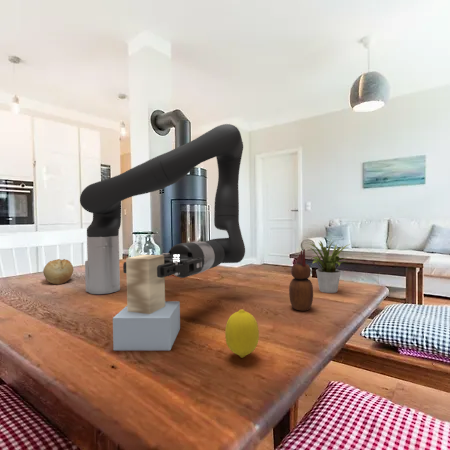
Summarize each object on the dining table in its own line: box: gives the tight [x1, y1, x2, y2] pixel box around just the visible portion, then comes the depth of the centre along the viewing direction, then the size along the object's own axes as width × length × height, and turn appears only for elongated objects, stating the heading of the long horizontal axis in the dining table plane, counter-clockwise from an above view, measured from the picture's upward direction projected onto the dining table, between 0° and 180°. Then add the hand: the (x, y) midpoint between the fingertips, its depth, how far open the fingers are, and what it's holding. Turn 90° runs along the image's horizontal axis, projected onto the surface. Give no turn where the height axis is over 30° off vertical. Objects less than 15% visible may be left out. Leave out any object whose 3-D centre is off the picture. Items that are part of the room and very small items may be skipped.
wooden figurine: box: [288, 248, 314, 312], centre depth 75 cm, size 7×6×15 cm
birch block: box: [125, 254, 166, 314], centre depth 58 cm, size 5×5×10 cm
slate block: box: [112, 300, 181, 351], centre depth 58 cm, size 10×10×6 cm
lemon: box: [224, 308, 260, 359], centre depth 50 cm, size 6×6×8 cm
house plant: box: [305, 237, 351, 294], centre depth 92 cm, size 14×14×16 cm
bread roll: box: [42, 258, 74, 285], centre depth 110 cm, size 10×15×8 cm, turn 34°
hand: (141, 270), depth 56 cm, fingers open, 8 cm apart
